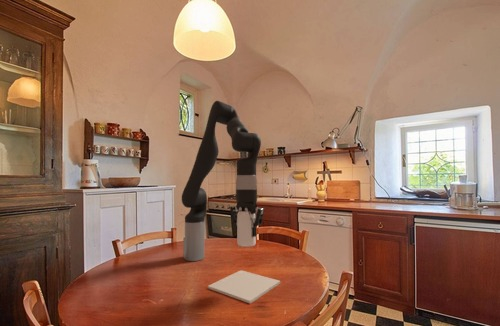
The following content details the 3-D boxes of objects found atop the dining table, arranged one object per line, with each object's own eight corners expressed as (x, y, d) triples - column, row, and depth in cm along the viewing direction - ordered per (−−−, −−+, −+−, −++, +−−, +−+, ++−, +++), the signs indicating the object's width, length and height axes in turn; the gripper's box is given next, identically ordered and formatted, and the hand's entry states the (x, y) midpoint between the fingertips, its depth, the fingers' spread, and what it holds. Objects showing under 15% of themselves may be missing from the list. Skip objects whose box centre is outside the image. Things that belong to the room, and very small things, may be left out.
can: (253, 247, 82) (253, 211, 83) (235, 246, 84) (235, 211, 84) (257, 242, 89) (256, 209, 90) (239, 242, 90) (239, 209, 91)
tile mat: (207, 288, 84) (207, 285, 84) (240, 272, 98) (240, 270, 98) (250, 303, 73) (250, 300, 73) (280, 283, 88) (280, 280, 88)
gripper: (224, 188, 89) (224, 236, 88) (256, 188, 80) (257, 241, 79) (237, 187, 95) (237, 232, 94) (269, 188, 86) (269, 237, 85)
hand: (246, 236), depth 86 cm, fingers closed on can, 5 cm apart
